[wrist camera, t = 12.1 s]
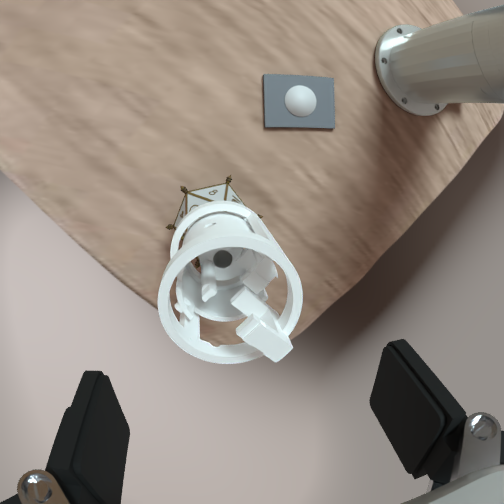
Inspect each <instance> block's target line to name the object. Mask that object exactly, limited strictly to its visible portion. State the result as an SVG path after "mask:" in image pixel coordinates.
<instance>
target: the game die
mask: <svg viewBox="0 0 504 504" xmlns="http://www.w3.org/2000/svg"><path fill="white" fill-rule="evenodd" d="M231 180H232V179H231V175H230V176H229V177H227V179H226V183H223V184H218V185H214V186H209V187H205V188H200V189H196V190H192V191H187V189H186V187H183V186H181V191H182V192H184V193H185V196H184V199H183V201H182V204H181V207H180V209H179V212H178V215H177V217H176V220H175V223H174V225H168V226H167V227H166V228H167V229H169V230H170V229H173V228H174V229H175V230H176V228H177V226H178V224H179V223H180V221H181V220H182V219H183V218H184V217H185V216H186V215H187V214H188V213H189V212H190V211H191V210H193V209H194V208H196V207H198V206H200V205H202V204H205V203H208V202H212V201H231V202H235V203H239V204H241V205H244V206H245V207H246V205H245V204H244V203H243V202H242V200H241V199H240V198H239V196H238V195H237V194H236V193H235V191H234V190H233V189H232V188H231V186H230V185H229V183H230V182H231ZM219 212H221V211H219ZM223 212H229V211H223ZM211 213H212V212H211ZM231 213H234V212H231ZM208 214H209V213H208ZM234 214H237V215H239V216H241V217H243V216H242V215H240V214H238V213H234ZM205 215H206V214H205ZM203 216H204V215H203ZM257 216H258V217H259V218H260V219H261V218H262V217H263V216H261V215H259V214H258V215H257ZM201 217H202V216H201ZM199 218H200V217H199ZM199 218H197V219H199ZM197 219H196V220H197ZM196 220H194V221H193V222H192V223H191V224H190V225H189V226H188V227H187V228H186V230H185V231H184V233H183V234H182V236H181V240H184V237H185V234H186V232H187V230H188V229H189V227H190V226H191V225H192V224H193V223H194V222H195V221H196ZM196 259H197V262H195V263H196V264H195V267H196V268H198V267H199V266H200V255H199V256H197V257H196Z"/></svg>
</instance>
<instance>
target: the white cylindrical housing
mask: <svg viewBox="0 0 504 504" xmlns="http://www.w3.org/2000/svg"><path fill="white" fill-rule="evenodd" d="M219 211H221V212H219ZM223 211H229V212H223ZM211 212H212V213H211ZM231 212H234V213H238V214H240V215H242V216H243V217H241V216H239V215H237V214H234V213H231ZM208 213H209V214H208ZM205 214H206V215H205ZM203 215H204V216H203ZM201 216H202V217H201ZM199 217H200V218H199ZM197 218H199V219H197ZM196 219H197V220H196ZM194 220H196V221H195V222H194V223H193V224H192V225H191V226H190V227H189V229H188V230H187V232H186V234H185V237H184V240H183V245H182V248H181V249H179V241H180V239H181V236H182V234H183V233H184V231H185V230H186V228H187V227H188V226H189V225H190V224H191V223H192V222H193V221H194ZM243 248H245V249H243ZM199 255H200V265H201V273H199V272H198V271H197V270H196V269H195V268H194V266H193V265H192V263H191V260H192V259H194V258H195V257H197V256H199ZM170 257H171V260H170V262H169V263H168V265H167V267H166V269H165V271H164V274H163V277H162V280H161V284H160V288H159V293H158V311H159V316H160V320H161V323H162V325H163V327H164V329H165V331H166V332H167V334H168V335H169V337H170V338H171V339H172V340H173V342H174V343H175V344H176V345H178V346H179V347H180V348H181V349H183V350H184V351H185V352H187V353H189V354H190V355H192V356H194V357H196V358H199V359H202V360H204V361H208V362H213V363H220V364H235V363H242V362H247V361H250V360H254V359H256V358H259V357H261V356H263V355H265V356H267V357H268V358H270V359H271V360H273V361H274V362H278V361H279V360H281V359H282V358H283V357H284V356H285V355H287V354H288V353H289V352H290V351H291V350H292V348H293V346H292V344H291V342H290V339H289V337H288V336H289V334H290V333H291V332H292V330H293V329H294V327H295V325H296V323H297V321H298V319H299V316H300V313H301V309H302V303H303V292H302V285H301V281H300V278H299V276H298V274H297V271H296V270H295V268H294V266H293V265H292V263H291V262H290V261H289V259H288V258H287V256H286V255H285V253H284V252H283V251H282V249H281V248H280V246H279V245H278V243H277V242H276V240H275V239H274V238H273V236H272V235H271V233H270V232H269V230H268V229H267V228H266V226H265V225H264V223H263V222H262V220H261V219H260V218H259V217H258V216H257V215H256V214H255V213H254V212H253V211H252V210H250V209H249V208H247V207H245V206H244V205H241V204H239V203H235V202H231V201H212V202H208V203H205V204H202V205H200V206H198V207H196V208H194V209H193V210H191V211H190V212H189V213H188V214H187V215H186V216H185V217H184V218H183V219H182V220H181V221H180V223H179V224H178V226H177V228H176V230H175V233H174V236H173V239H172V243H171V250H170ZM272 259H273V260H274V261H275V262H276V263H277V264H278V265H279V266H280V267H281V268H282V269H283V270H284V273H285V275H286V279H287V284H288V296H287V302H286V305H285V308H284V310H283V312H282V314H281V316H279V314H278V312H276V311H275V310H274V309H273V308H271V307H270V306H269V305H268V304H266V303H265V302H266V300H267V299H268V296H267V293H266V291H265V287H266V286H267V285H268V284H269V282H270V281H271V280H272V279H273V278H274V277H275V276H276V277H277V278H278V275H277V271H276V268H275V265H274V263H273V261H272ZM176 276H177V283H176V295H177V299H178V302H177V303H176V304H175V305H174V306H175V308H176V309H177V310H178V311H179V312H180V322H179V321H178V320H177V318H176V317H175V315H174V313H173V310H172V307H171V303H170V288H171V285H172V283H173V281H174V279H175V277H176ZM199 315H201V316H203V317H205V318H207V319H211V320H215V321H234V320H239V319H242V318H245V317H247V316H248V318H247V319H246V320H245V321H244V322H242V323H241V324H240V325H239V326H238V327H237V328H236V332H237V335H238V336H240V337H241V338H243V341H245V342H244V343H240V344H234V345H220V346H219V347H214V346H212V345H211V344H210V343H209V342H206V341H203V340H201V339H200V326H199Z"/></svg>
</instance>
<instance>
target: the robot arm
mask: <svg viewBox="0 0 504 504" xmlns="http://www.w3.org/2000/svg"><path fill="white" fill-rule="evenodd" d="M375 64H376V69H377V74H378V76H379V79H380V82H381V84H382V86H383V88H384V90H385V91H386V93H387V94H388V95H389V97H390V98H391V99H392V100H393V101H394V102H395V103H396V104H397V105H398V106H399V107H401V108H402V109H403V110H405V111H407V112H409V113H411V114H414V115H419V116H429V115H434V114H437V113H439V112H440V111H442V110H443V109H444V108H445V107H446V105H447V104H448V103H504V5H501V6H497V7H493V8H490V9H486V10H482V11H478V12H475V13H471V14H468V15H464V16H460V17H457V18H454V19H451V20H447V21H444V22H441V23H438V24H435V25H432V26H429V27H427V28H424V29H421V28H419V27H416V26H413V25H398V26H395V27H393V28H390V29H388V30H387V31H386V32H385V33H384V34H383V35H382V36H381V38H380V39H379V41H378V44H377V46H376V52H375ZM370 406H371V409H372V410H373V412H374V414H375V416H376V417H377V419H378V421H379V422H380V425H381V426H382V428H383V430H384V432H385V433H386V435H387V437H388V439H389V441H390V442H391V444H392V446H393V448H394V450H395V451H396V453H397V455H398V457H399V459H400V461H401V462H402V464H403V466H404V468H405V470H406V471H407V472H408V473H409V474H412V475H413V477H414V479H417V478H419V477H422V476H424V475H426V474H428V476H429V478H430V482H429V485H428V489H427V492H426V494H423V495H421V496H419V497H416V498H414V499H411V500H409V501H407V502H404V503H402V504H504V431H501V427H500V424H499V422H498V420H497V419H496V418H495V417H493V416H492V415H490V414H487V413H484V412H478V413H474V414H472V415H471V416H469V417H467V416H466V412H465V411H464V409H463V408H462V407H461V406H460V405H459V403H458V402H457V401H456V399H454V397H453V396H452V395H451V393H450V392H449V391H448V390H447V388H446V387H445V386H444V385H443V384H442V382H441V381H440V380H439V379H438V378H437V376H436V375H435V374H434V373H433V372H432V371H431V369H430V368H429V367H428V366H427V365H426V363H425V362H424V361H423V360H422V359H421V358H420V356H419V355H418V354H417V353H416V352H415V351H414V349H413V348H412V347H411V346H410V345H409V344H408V342H407V341H406V340H404V339H401V340H397V341H392V342H389V343H388V344H387V346H386V347H384V349H383V352H382V356H381V360H380V364H379V368H378V372H377V375H376V379H375V383H374V386H373V390H372V393H371V397H370ZM129 437H130V429H129V426H128V423H127V421H126V419H125V416H124V414H123V412H122V409H121V407H120V405H119V402H118V400H117V397H116V395H115V392H114V390H113V387H112V384H111V382H110V379H109V377H108V376H107V375H104V374H103V372H102V371H85V372H84V373H83V376H82V378H81V381H80V384H79V386H78V389H77V391H76V394H75V396H74V399H73V402H72V405H71V407H68V408H67V409H66V411H65V413H64V415H63V418H62V421H61V424H60V426H59V429H58V432H57V435H56V438H55V441H54V444H53V447H52V450H51V453H50V456H49V460H48V463H47V466H46V469H45V471H44V470H36V469H35V470H31V471H28V472H27V473H25V474H24V475H23V476H22V477H21V478H20V480H19V482H18V486H17V492H18V494H16V495H14V496H12V497H11V498H9V499H7V500H5V501H3V502H1V503H0V504H121V495H122V487H123V479H124V471H125V464H126V456H127V450H128V443H129Z"/></svg>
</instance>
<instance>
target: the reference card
mask: <svg viewBox="0 0 504 504" xmlns="http://www.w3.org/2000/svg"><path fill="white" fill-rule="evenodd" d="M263 84H264V119H265V127H309V128H335V106H334V78H327V77H315V76H301V75H280V74H263Z"/></svg>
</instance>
